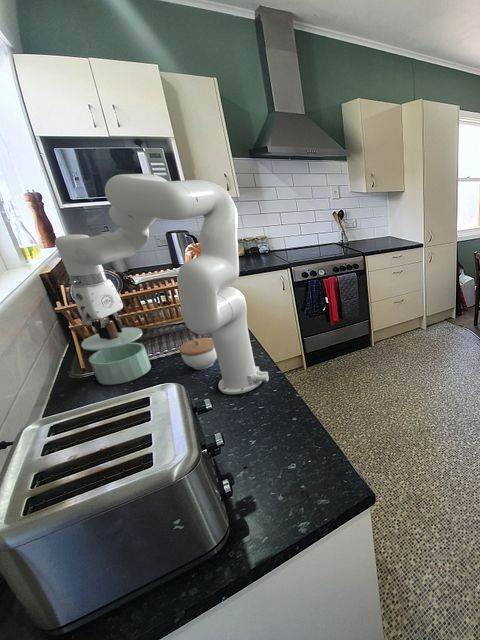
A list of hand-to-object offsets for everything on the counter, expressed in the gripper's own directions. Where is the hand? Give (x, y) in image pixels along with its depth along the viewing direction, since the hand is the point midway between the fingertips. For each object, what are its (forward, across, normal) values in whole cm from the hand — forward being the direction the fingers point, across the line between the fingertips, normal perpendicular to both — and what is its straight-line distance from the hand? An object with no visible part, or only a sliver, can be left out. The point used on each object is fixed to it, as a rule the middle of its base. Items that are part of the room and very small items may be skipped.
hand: (111, 334), depth 107 cm
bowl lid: (+2, 0, 0) cm, 2 cm away
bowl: (+14, 0, +1) cm, 14 cm away
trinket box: (+15, +6, -21) cm, 27 cm away
